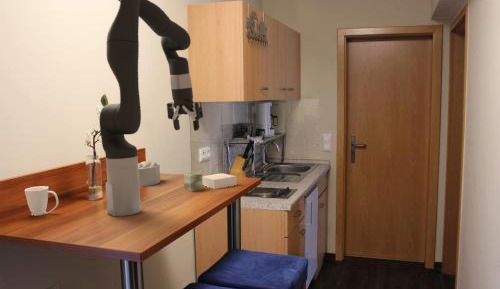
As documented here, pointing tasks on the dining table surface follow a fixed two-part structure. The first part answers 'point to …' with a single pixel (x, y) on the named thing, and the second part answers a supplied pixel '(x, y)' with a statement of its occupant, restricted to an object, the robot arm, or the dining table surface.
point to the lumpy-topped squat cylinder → (148, 173)
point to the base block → (219, 180)
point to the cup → (39, 199)
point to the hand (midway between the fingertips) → (187, 130)
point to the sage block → (193, 181)
